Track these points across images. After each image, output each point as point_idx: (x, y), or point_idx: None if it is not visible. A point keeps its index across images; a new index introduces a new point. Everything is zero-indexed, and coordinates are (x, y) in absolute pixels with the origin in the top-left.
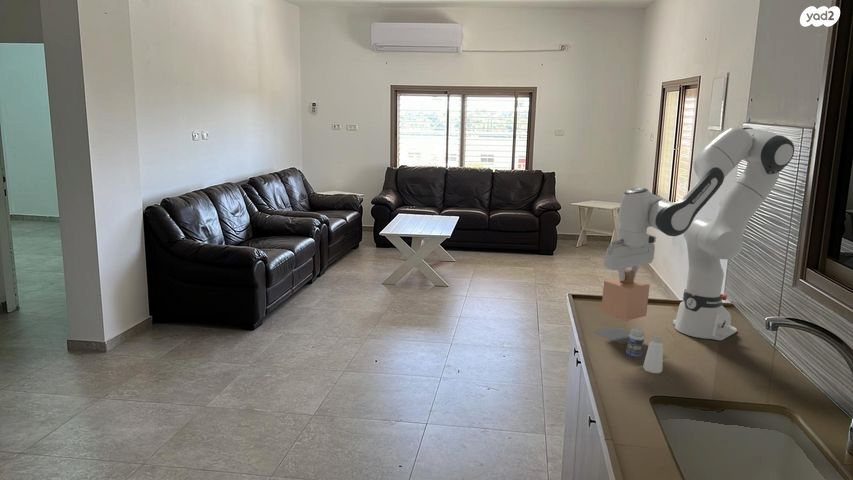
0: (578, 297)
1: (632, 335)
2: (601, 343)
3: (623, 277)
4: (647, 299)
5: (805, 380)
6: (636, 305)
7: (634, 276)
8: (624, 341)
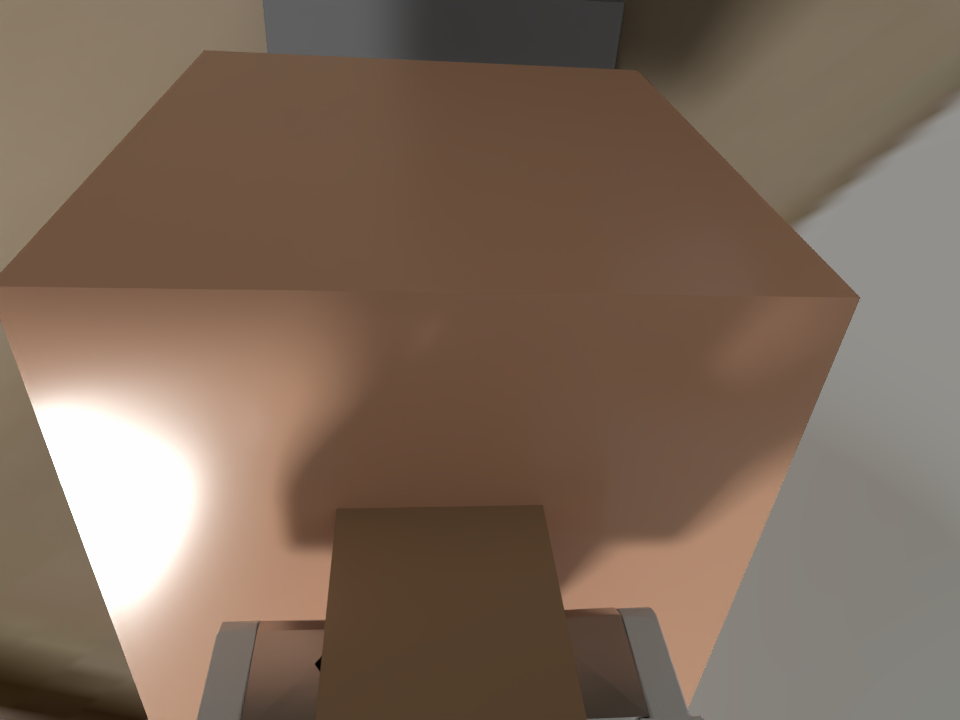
0: (122, 715)
1: None
2: (722, 126)
3: (675, 675)
4: (145, 134)
5: None
6: (454, 123)
7: (252, 662)
8: (533, 28)
